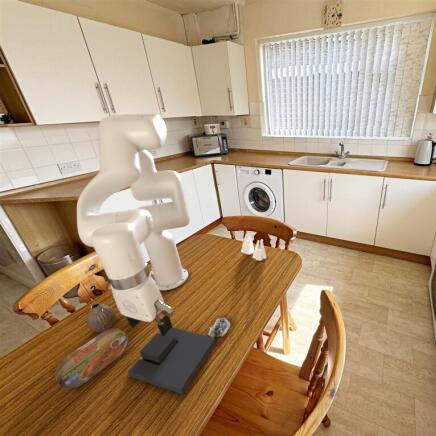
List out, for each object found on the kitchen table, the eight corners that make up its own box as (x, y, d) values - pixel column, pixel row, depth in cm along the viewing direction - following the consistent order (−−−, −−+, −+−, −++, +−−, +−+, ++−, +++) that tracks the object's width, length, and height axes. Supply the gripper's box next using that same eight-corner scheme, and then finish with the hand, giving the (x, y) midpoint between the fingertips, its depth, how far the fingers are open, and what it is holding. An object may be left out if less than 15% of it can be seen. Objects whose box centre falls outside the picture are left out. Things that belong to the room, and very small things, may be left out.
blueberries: (205, 341, 68) (204, 336, 68) (209, 319, 76) (208, 314, 75) (229, 337, 69) (228, 333, 68) (231, 316, 76) (230, 311, 76)
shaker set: (240, 254, 109) (237, 233, 104) (246, 250, 112) (244, 229, 107) (261, 262, 103) (258, 240, 98) (267, 257, 106) (265, 236, 101)
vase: (89, 339, 70) (77, 318, 66) (95, 322, 76) (84, 301, 72) (116, 330, 73) (106, 309, 69) (120, 314, 78) (111, 294, 75)
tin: (67, 396, 56) (50, 374, 53) (62, 389, 58) (46, 366, 54) (133, 346, 68) (123, 325, 64) (127, 341, 69) (117, 320, 66)
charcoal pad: (129, 376, 60) (127, 371, 59) (170, 330, 72) (168, 326, 71) (182, 394, 56) (180, 389, 55) (216, 343, 68) (214, 338, 67)
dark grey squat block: (143, 361, 63) (139, 351, 62) (160, 342, 69) (157, 332, 67) (162, 367, 62) (157, 357, 60) (178, 347, 67) (174, 337, 65)
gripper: (85, 279, 53) (113, 331, 61) (147, 294, 48) (168, 348, 56) (116, 259, 59) (137, 309, 67) (173, 271, 55) (189, 322, 63)
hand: (151, 327), depth 62 cm, fingers open, 9 cm apart
